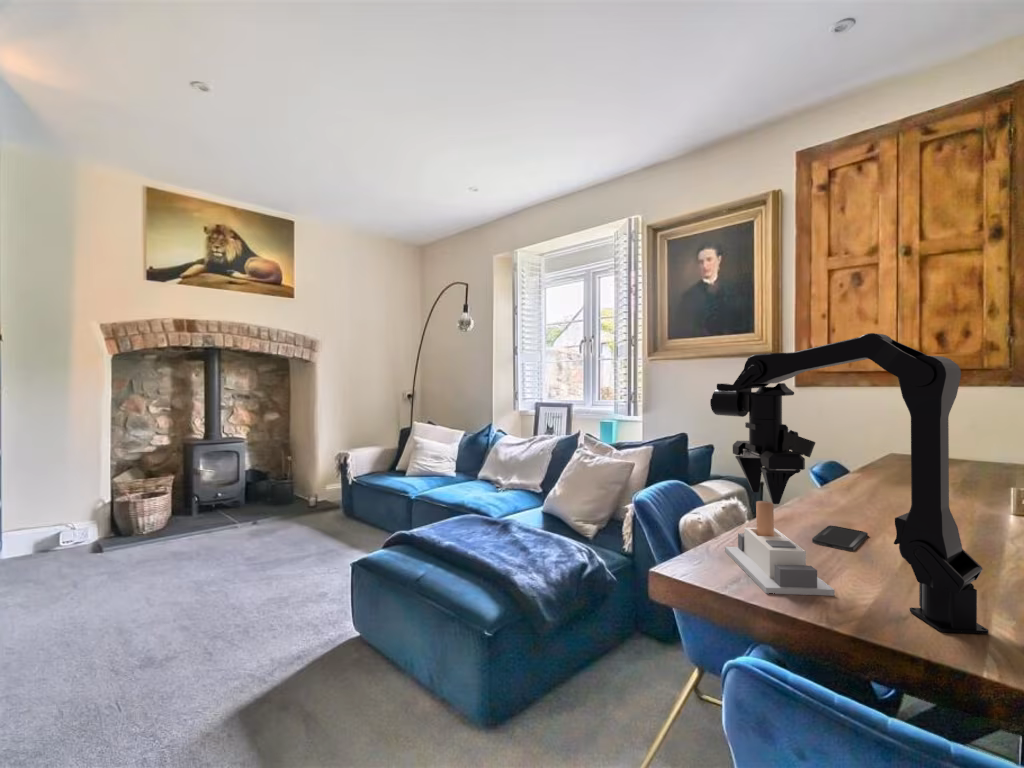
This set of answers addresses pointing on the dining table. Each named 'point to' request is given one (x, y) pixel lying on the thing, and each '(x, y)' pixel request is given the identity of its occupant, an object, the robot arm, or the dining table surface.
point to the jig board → (770, 581)
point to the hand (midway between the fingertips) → (765, 497)
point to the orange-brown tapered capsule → (765, 518)
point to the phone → (840, 538)
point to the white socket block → (772, 551)
